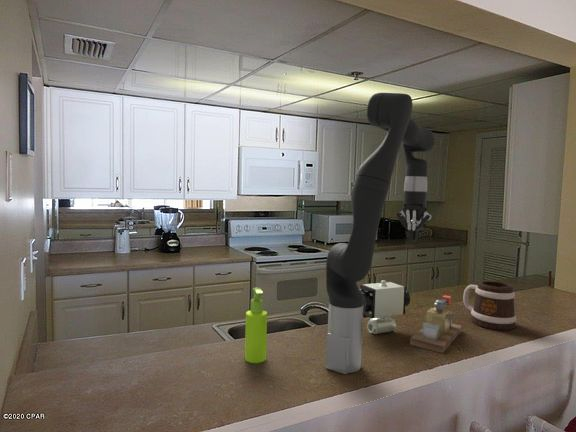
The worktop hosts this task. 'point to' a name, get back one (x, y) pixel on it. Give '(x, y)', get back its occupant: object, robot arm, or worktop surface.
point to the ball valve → (383, 304)
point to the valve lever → (442, 303)
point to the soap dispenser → (256, 330)
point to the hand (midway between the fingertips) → (412, 241)
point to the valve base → (442, 340)
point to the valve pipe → (436, 324)
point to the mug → (492, 305)
